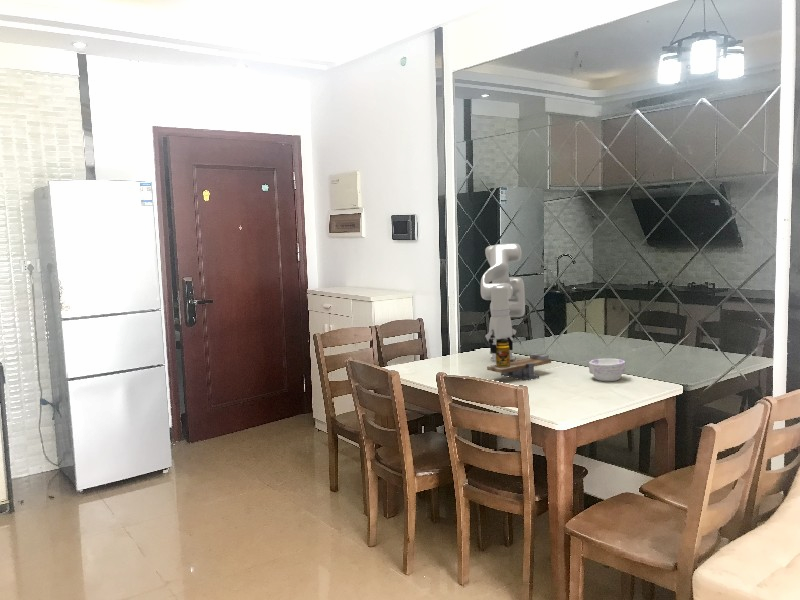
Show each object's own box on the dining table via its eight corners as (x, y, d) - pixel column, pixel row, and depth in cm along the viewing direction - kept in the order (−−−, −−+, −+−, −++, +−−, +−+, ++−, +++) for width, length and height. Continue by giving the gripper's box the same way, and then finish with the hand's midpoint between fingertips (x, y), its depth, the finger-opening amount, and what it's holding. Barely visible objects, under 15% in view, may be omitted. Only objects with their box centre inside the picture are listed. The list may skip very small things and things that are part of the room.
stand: (501, 375, 299) (500, 360, 299) (514, 372, 304) (513, 357, 303) (526, 380, 286) (525, 365, 285) (539, 378, 291) (538, 362, 290)
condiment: (501, 368, 283) (500, 341, 282) (489, 365, 291) (488, 339, 289) (514, 366, 287) (513, 339, 285) (503, 363, 294) (502, 337, 293)
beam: (487, 370, 290) (486, 362, 290) (535, 359, 307) (535, 352, 306) (502, 373, 282) (502, 365, 282) (551, 362, 299) (550, 355, 298)
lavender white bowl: (588, 375, 292) (588, 357, 291) (624, 375, 288) (624, 357, 287) (589, 382, 277) (589, 364, 277) (627, 383, 273) (627, 364, 273)
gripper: (509, 310, 294) (510, 347, 296) (479, 314, 285) (481, 353, 287) (520, 311, 288) (521, 349, 290) (491, 316, 278) (492, 355, 281)
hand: (501, 351), depth 288 cm, fingers open, 9 cm apart
